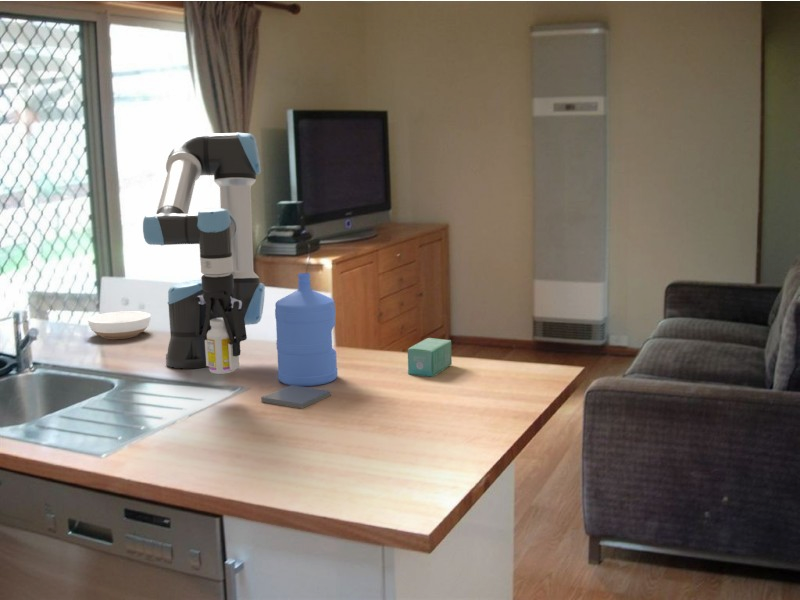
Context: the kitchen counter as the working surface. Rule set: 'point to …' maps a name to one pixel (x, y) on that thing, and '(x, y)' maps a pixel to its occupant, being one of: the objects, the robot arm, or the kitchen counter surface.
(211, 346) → the supplement bottle
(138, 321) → the bowl
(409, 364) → the box
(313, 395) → the coaster
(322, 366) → the water jug
